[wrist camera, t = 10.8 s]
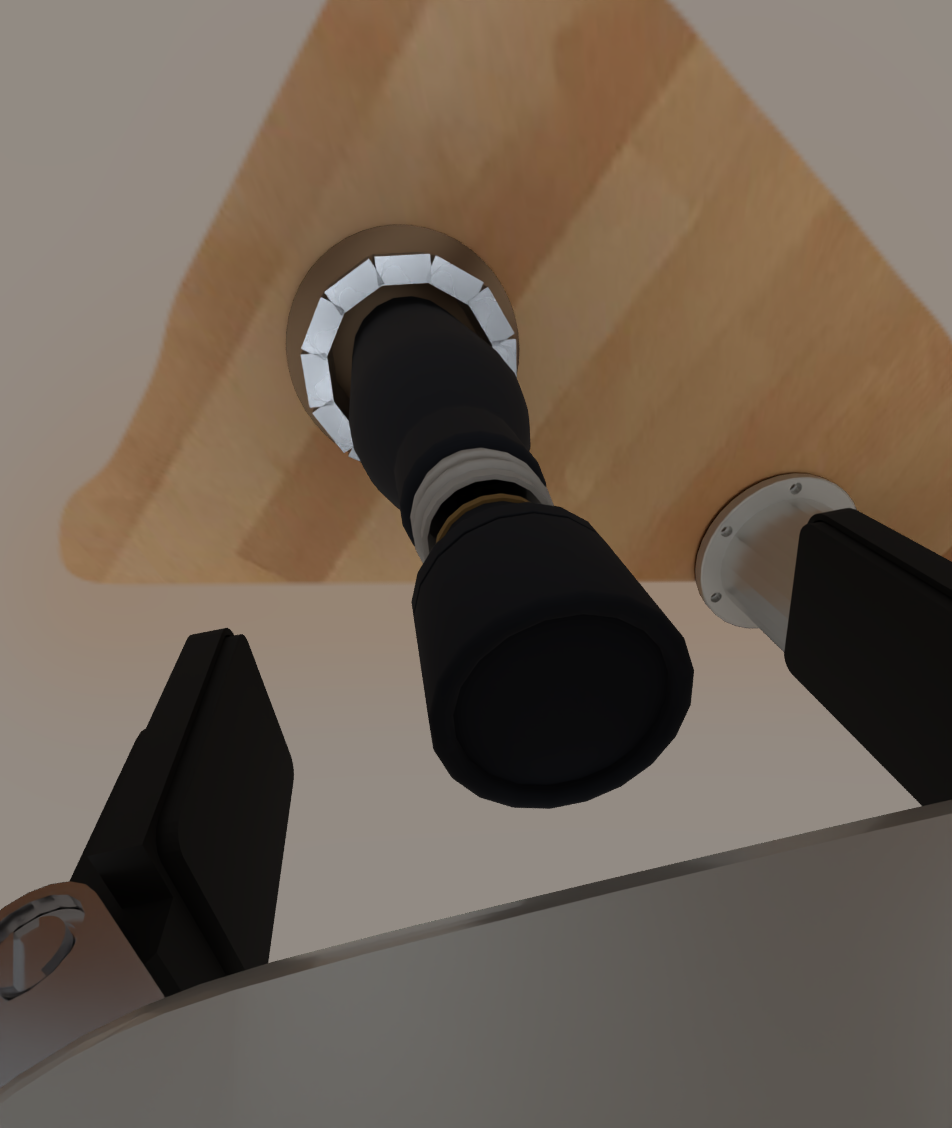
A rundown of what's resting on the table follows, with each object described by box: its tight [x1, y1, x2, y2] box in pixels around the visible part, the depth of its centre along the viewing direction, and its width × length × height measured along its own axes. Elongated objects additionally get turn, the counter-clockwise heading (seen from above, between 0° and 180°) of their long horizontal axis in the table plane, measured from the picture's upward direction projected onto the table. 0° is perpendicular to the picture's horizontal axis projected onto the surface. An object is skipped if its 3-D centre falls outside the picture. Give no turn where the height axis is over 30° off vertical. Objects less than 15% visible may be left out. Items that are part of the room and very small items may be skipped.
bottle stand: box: [286, 225, 519, 461], centre depth 33 cm, size 13×13×6 cm
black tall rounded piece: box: [349, 296, 694, 809], centre depth 22 cm, size 6×6×30 cm
